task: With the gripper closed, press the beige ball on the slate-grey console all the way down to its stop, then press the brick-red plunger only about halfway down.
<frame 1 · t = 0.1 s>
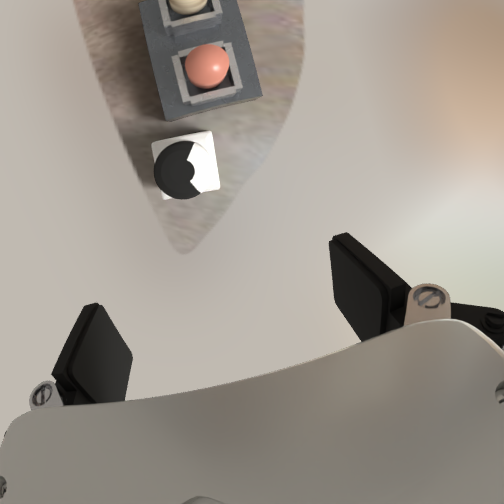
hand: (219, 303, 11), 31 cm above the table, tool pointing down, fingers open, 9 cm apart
medicine bottle: (189, 159, 37), on the table
red plunger: (207, 67, 24), point 10 cm above the table, slide at 0.0 cm
console: (198, 52, 31), on the table
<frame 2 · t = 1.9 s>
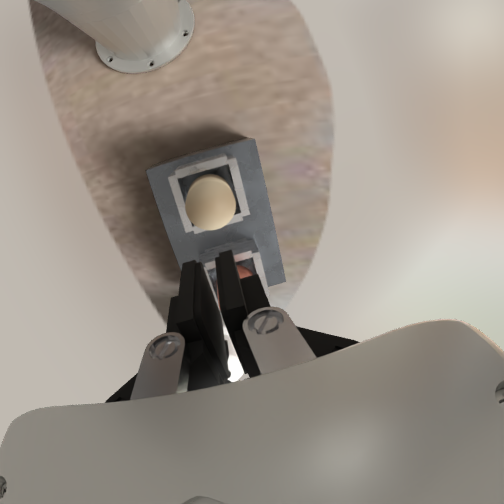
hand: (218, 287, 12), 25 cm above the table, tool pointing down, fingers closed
medicine bottle: (214, 315, 43), on the table
red plunger: (237, 292, 29), point 10 cm above the table, slide at 0.0 cm
console: (219, 217, 36), on the table
beige ball: (210, 200, 25), point 10 cm above the table, slide at 0.0 cm
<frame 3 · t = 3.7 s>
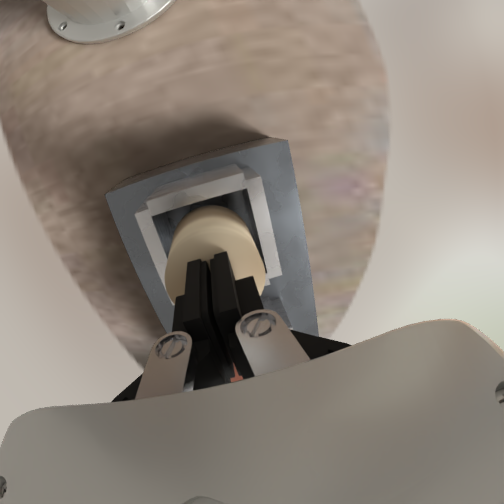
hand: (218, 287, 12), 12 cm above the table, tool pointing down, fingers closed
red plunger: (258, 386, 18), point 10 cm above the table, slide at 0.0 cm
console: (224, 256, 25), on the table
beige ball: (213, 259, 13), point 10 cm above the table, slide at 0.2 cm, touching gripper
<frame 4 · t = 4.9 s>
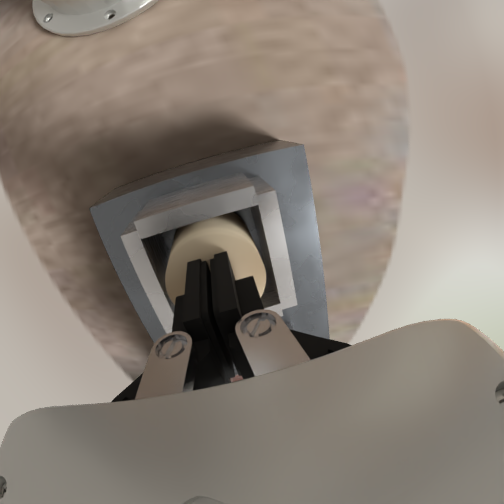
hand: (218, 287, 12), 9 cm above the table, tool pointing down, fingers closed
console: (228, 274, 22), on the table
beige ball: (213, 261, 13), point 7 cm above the table, slide at 3.1 cm, touching gripper
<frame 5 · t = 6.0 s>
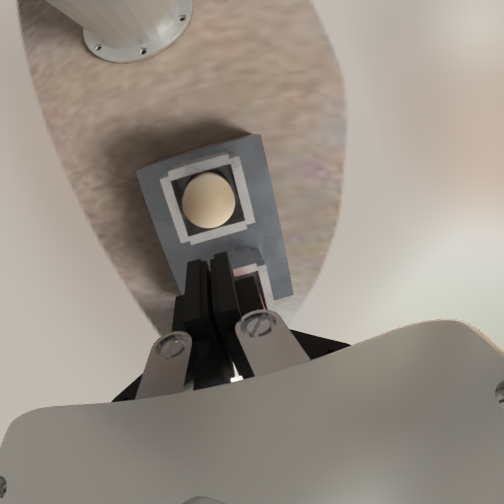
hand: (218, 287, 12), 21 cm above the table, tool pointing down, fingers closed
red plunger: (240, 310, 26), point 10 cm above the table, slide at 0.0 cm
console: (219, 222, 33), on the table
beige ball: (208, 197, 24), point 7 cm above the table, slide at 3.1 cm
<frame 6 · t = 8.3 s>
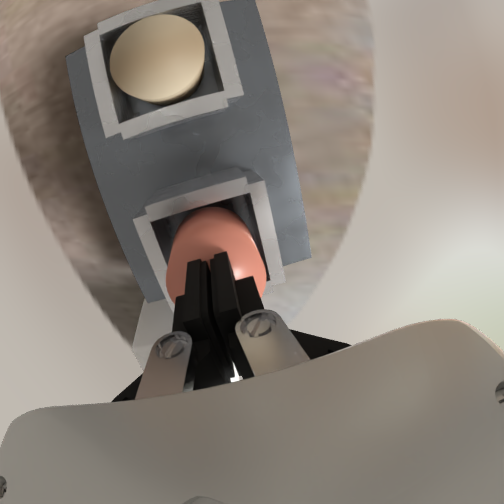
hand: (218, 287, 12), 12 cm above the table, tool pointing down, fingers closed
medicine bottle: (190, 318, 26), on the table
red plunger: (214, 261, 13), point 10 cm above the table, slide at 0.9 cm, touching gripper
console: (192, 145, 20), on the table
beige ball: (161, 63, 11), point 7 cm above the table, slide at 3.1 cm
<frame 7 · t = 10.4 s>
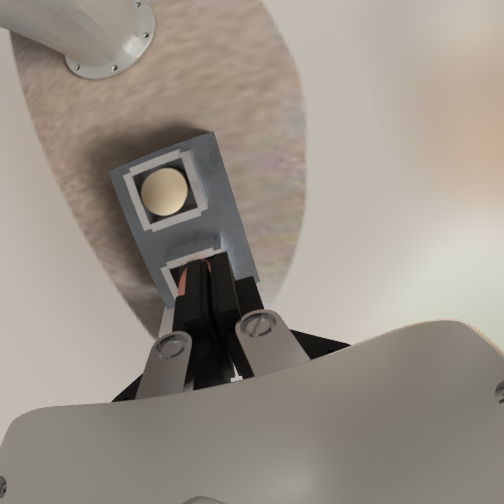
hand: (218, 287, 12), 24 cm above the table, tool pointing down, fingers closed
medicine bottle: (194, 320, 41), on the table
red plunger: (200, 284, 29), point 9 cm above the table, slide at 1.5 cm
console: (189, 216, 35), on the table
beige ball: (166, 189, 26), point 7 cm above the table, slide at 3.1 cm
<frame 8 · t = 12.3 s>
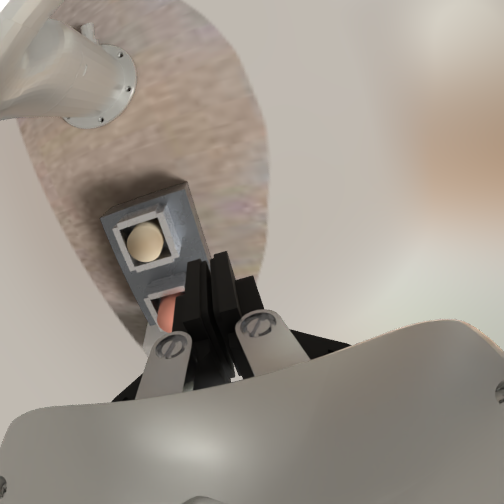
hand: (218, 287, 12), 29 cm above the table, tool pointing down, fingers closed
medicine bottle: (172, 331, 48), on the table
red plunger: (174, 312, 36), point 9 cm above the table, slide at 1.5 cm
console: (167, 250, 41), on the table
beige ball: (147, 239, 33), point 7 cm above the table, slide at 3.1 cm
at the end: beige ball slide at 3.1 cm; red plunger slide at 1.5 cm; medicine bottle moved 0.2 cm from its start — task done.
